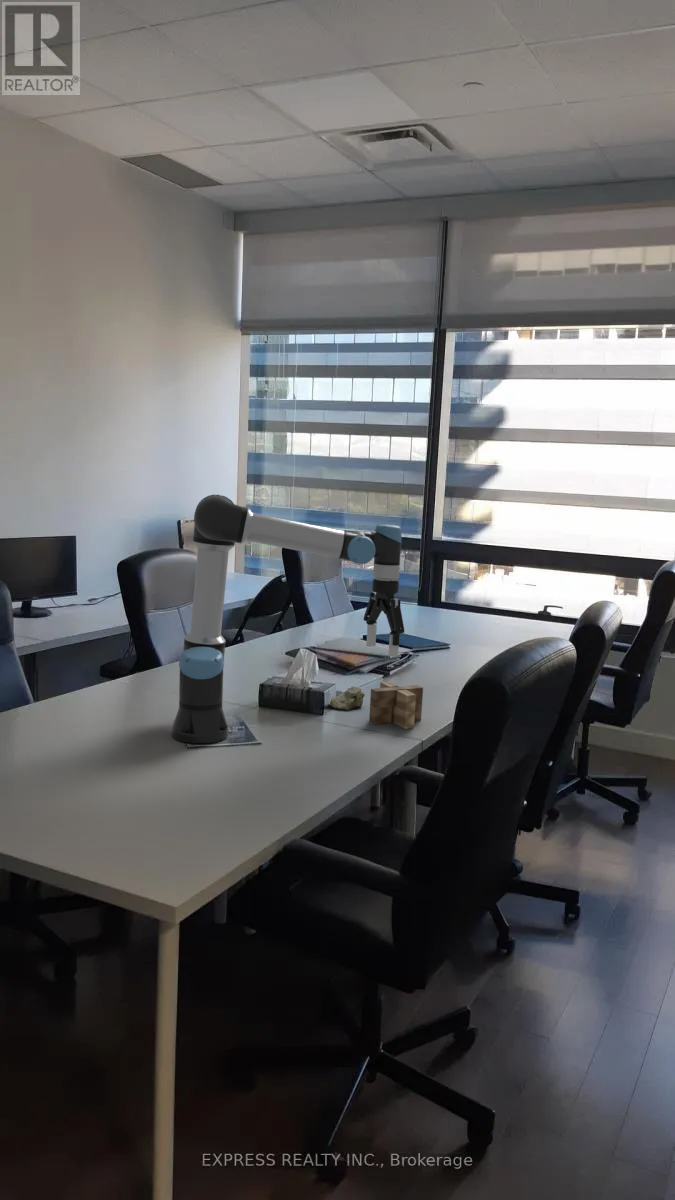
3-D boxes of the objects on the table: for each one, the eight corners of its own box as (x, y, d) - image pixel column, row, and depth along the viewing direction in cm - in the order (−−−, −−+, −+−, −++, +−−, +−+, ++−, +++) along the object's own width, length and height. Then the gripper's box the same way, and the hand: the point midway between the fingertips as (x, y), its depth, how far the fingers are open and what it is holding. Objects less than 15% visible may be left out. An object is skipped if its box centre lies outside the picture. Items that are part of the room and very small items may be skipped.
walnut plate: (373, 724, 263) (375, 691, 262) (369, 721, 266) (370, 688, 265) (421, 720, 270) (423, 687, 269) (416, 717, 273) (418, 685, 271)
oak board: (404, 729, 261) (406, 695, 259) (378, 713, 275) (380, 681, 273) (413, 728, 262) (415, 694, 260) (387, 713, 276) (389, 681, 274)
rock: (322, 710, 280) (348, 712, 274) (321, 690, 280) (347, 691, 274) (342, 704, 289) (368, 706, 283) (341, 685, 288) (367, 685, 282)
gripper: (419, 585, 249) (414, 659, 253) (377, 572, 272) (373, 641, 275) (395, 585, 246) (391, 661, 250) (354, 572, 268) (351, 642, 272)
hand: (381, 651), depth 262 cm, fingers open, 13 cm apart
